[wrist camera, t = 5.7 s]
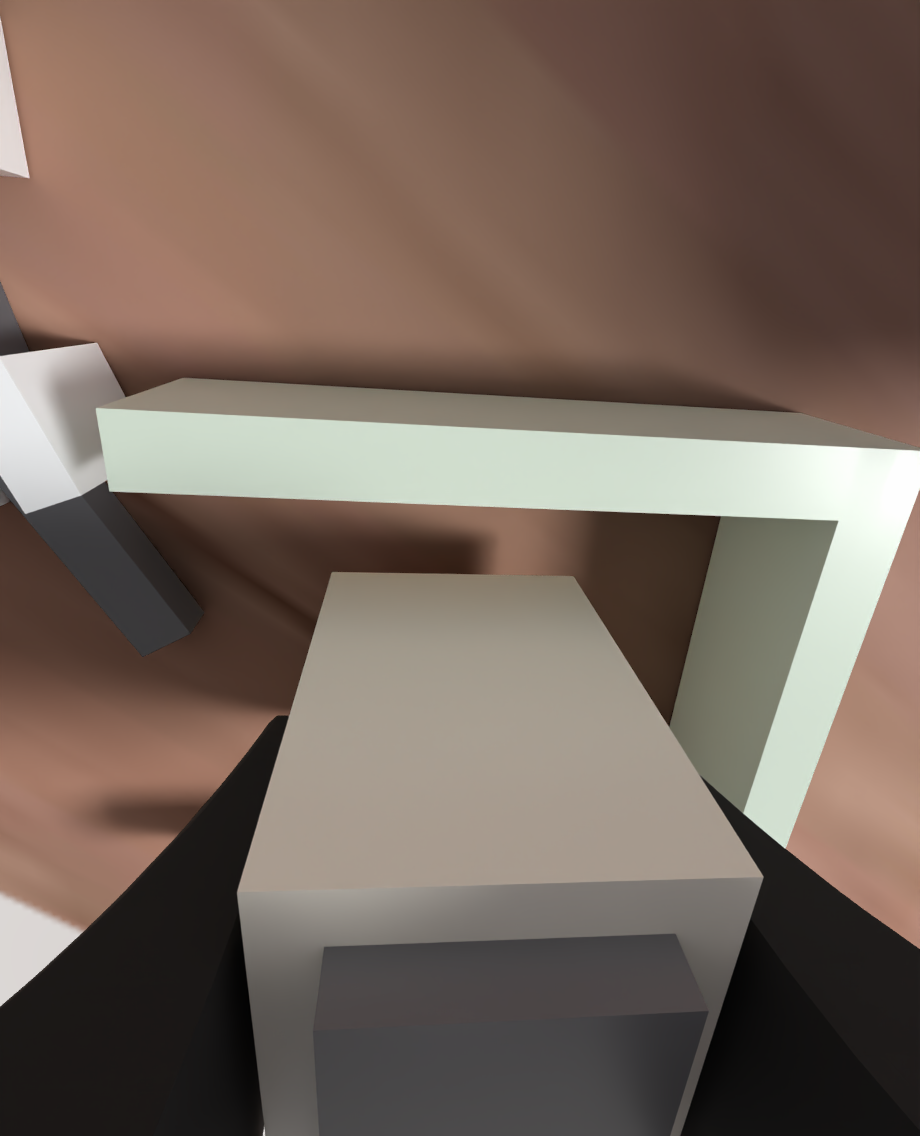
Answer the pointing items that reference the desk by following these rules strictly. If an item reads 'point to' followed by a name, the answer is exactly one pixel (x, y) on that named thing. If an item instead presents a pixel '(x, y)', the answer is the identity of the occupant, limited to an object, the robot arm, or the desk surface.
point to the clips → (47, 384)
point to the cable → (109, 550)
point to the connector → (483, 876)
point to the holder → (596, 483)
